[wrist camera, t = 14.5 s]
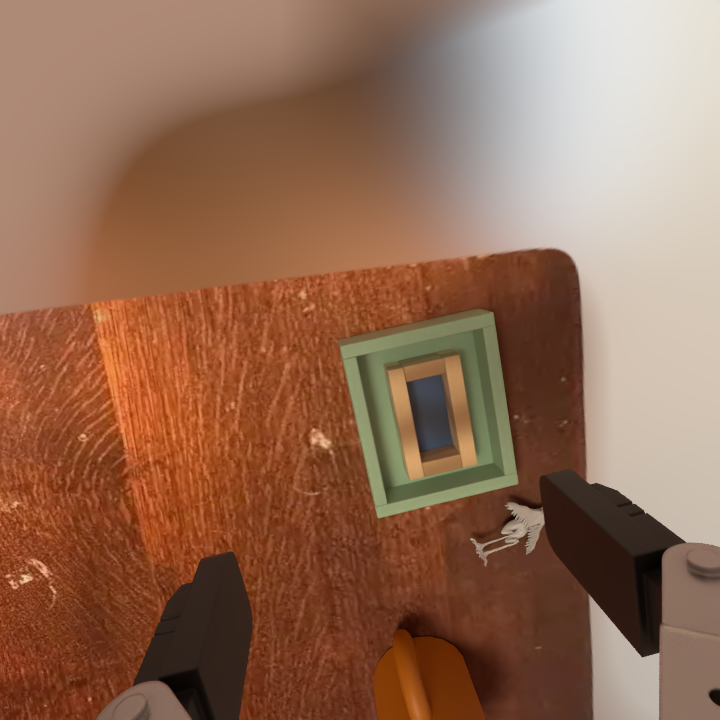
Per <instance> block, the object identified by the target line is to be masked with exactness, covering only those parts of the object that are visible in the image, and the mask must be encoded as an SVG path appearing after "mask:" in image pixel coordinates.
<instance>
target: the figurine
mask: <svg viewBox="0 0 720 720" xmlns="http://www.w3.org/2000/svg"><path fill="white" fill-rule="evenodd" d="M508 504H509V505H504V506H509V508H507V509H510V510H513V509H514V511H513V512H512V513H511V514H513V513H515V514H514V515H516V514H517V513H518V514H517V516H516V518H515V520H512V521H510V522H508V523H507V524H506V525H505V526H504V527H503V529H502V531H501V533H502V534H510V535H509V536H505V537H502V538H500V539H496V540H493V541H490V542H487V543H484V544H480V543H477V542H476V540H475V539H473V538H470V540H472V541H474V542H472V543H473V544H475V546H476V548H477V549H476V550H478V552H476V553H479V555H480V556H479V557H481V558H482V559H483V560H484V561H485V562H484V564H485V566H486V563H487V559H486V557H487V555H488V554H490V553H492V552H494V551H497V550H500V549H503V548H505V547H508V546H511V545H514V544H516V543H518V542H519V540H517V539H518V538H521V537H523V536H524V535H525V534H526V533H527V532H531V533H528V535H530V536H528V537H532V538H530V539H528V540H531V541H529V542H526V543H530V544H527V545H525V546H529V547H528V548H526V550H527V551H528V553H529V552H531V551H532V550H533V549H534V547H535V545H536V541H537V540H538V538H539V532H540V530H541V528H542V526H543V525H544V523H545V522H544V514H543V507H542V508H539V509H530V508H528V507H526V506H521V505H518V504H516V503H513V502H508ZM540 510H541V511H540ZM514 515H513V516H514ZM518 517H519V519H517V518H518ZM536 525H537V526H536ZM529 526H530V527H529ZM531 526H533V527H531ZM528 527H529V529H531V530H528ZM512 530H514V531H512ZM504 538H506V539H505V542H506V543H512V542H515V543H513V544H509V545H505V546H503V547H499V548H496V549H493V550H490V551H486V552H483V551H482V549H483V547H484V546H486V545H488V544H491V543H494V542H496V541H499V540H502V539H504ZM528 549H529V550H528ZM527 551H526V552H527ZM528 553H527V554H528Z"/></svg>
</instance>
